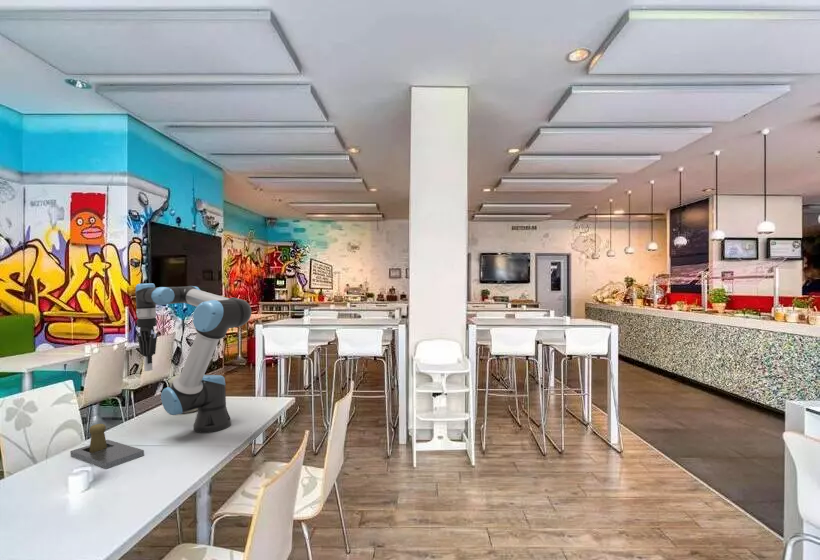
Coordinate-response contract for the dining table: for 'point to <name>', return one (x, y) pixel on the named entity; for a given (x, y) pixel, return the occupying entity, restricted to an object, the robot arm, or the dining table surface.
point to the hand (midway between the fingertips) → (148, 370)
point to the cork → (97, 438)
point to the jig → (108, 454)
